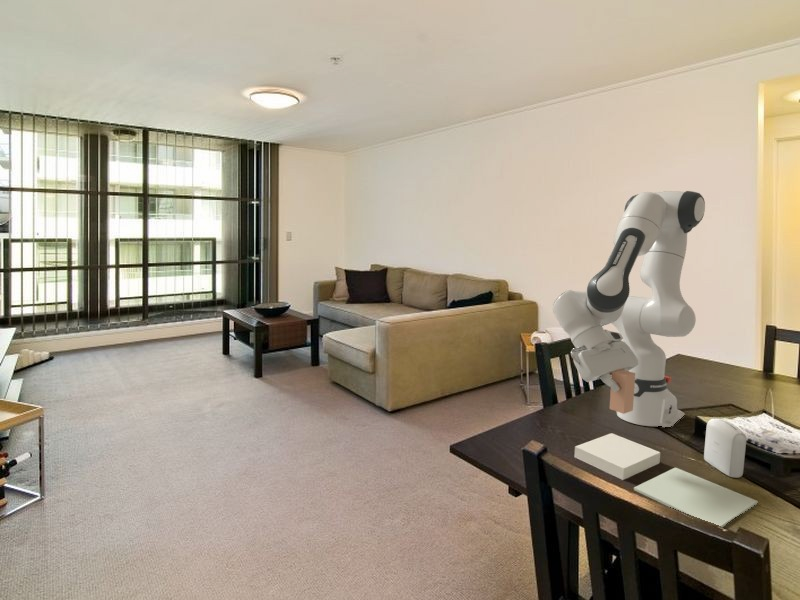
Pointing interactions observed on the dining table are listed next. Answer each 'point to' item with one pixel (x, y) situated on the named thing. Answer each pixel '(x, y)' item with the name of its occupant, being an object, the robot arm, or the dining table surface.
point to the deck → (617, 455)
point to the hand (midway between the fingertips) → (624, 388)
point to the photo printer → (725, 447)
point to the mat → (696, 496)
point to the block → (623, 391)
